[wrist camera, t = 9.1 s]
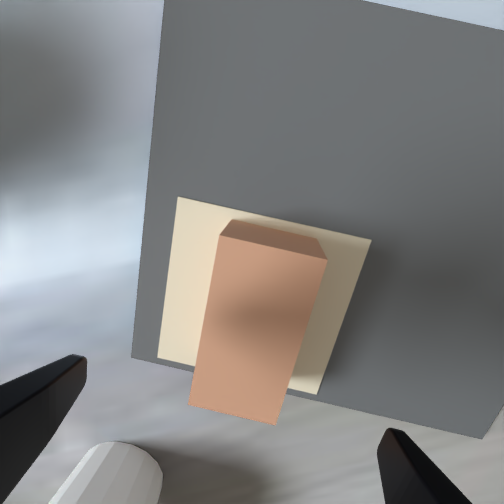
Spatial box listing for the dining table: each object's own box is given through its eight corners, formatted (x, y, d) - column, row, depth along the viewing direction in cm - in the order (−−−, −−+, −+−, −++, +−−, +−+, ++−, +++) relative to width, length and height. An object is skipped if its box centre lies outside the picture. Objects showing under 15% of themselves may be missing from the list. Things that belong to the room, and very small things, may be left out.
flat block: (275, 377, 16) (275, 425, 13) (204, 360, 16) (187, 404, 13) (316, 238, 13) (327, 259, 10) (231, 219, 13) (219, 235, 10)
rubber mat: (695, 77, 11) (714, 73, 10) (477, 432, 16) (483, 441, 16) (172, -34, 11) (167, -44, 10) (134, 353, 16) (130, 358, 16)
